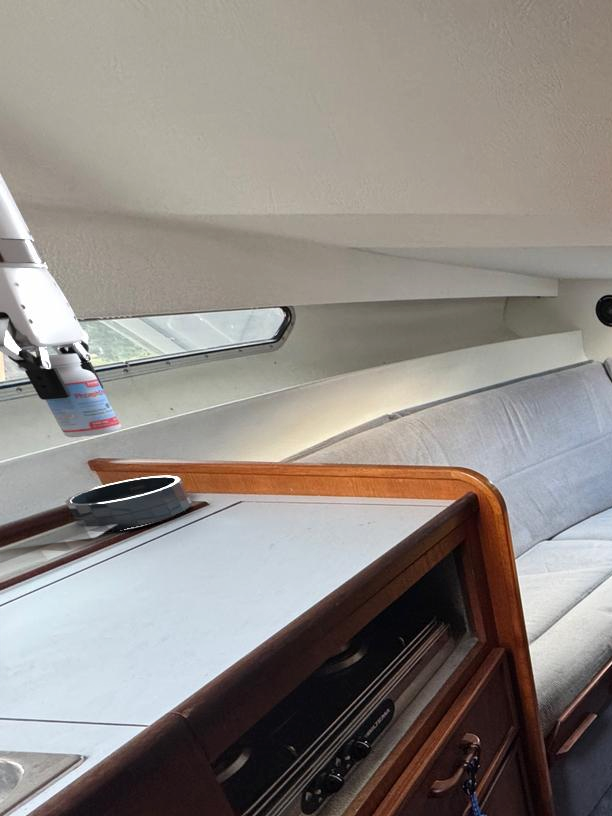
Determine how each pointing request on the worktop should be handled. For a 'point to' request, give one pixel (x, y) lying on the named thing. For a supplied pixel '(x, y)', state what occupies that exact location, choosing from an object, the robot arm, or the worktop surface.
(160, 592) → the worktop surface
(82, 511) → the bowl
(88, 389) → the pill bottle
